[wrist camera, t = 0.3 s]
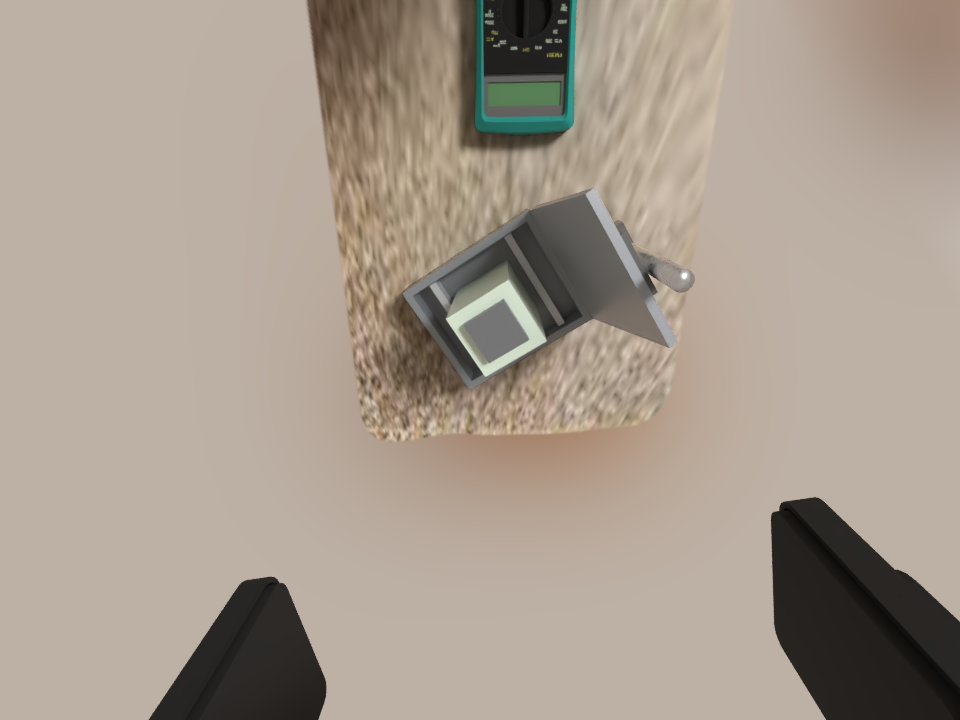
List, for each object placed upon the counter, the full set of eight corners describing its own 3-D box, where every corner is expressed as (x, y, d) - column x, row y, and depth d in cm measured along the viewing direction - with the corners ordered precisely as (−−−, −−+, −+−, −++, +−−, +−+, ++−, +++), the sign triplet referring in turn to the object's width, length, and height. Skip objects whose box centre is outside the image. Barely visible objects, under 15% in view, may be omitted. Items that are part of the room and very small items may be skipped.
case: (408, 286, 43) (402, 294, 40) (527, 208, 40) (529, 210, 37) (471, 376, 45) (469, 390, 42) (586, 309, 43) (592, 318, 40)
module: (457, 291, 42) (444, 321, 33) (507, 259, 41) (508, 281, 32) (488, 338, 43) (485, 380, 34) (538, 308, 42) (547, 343, 33)
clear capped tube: (591, 236, 40) (649, 273, 25) (618, 220, 40) (694, 246, 24) (605, 261, 41) (670, 312, 25) (631, 245, 41) (714, 288, 25)
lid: (585, 194, 26) (603, 181, 26) (529, 210, 37) (541, 201, 37) (669, 347, 28) (686, 336, 28) (592, 318, 40) (604, 310, 40)
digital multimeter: (581, -106, 33) (587, -132, 31) (569, 134, 38) (574, 130, 36) (473, -101, 34) (470, -127, 31) (476, 136, 39) (473, 132, 36)
